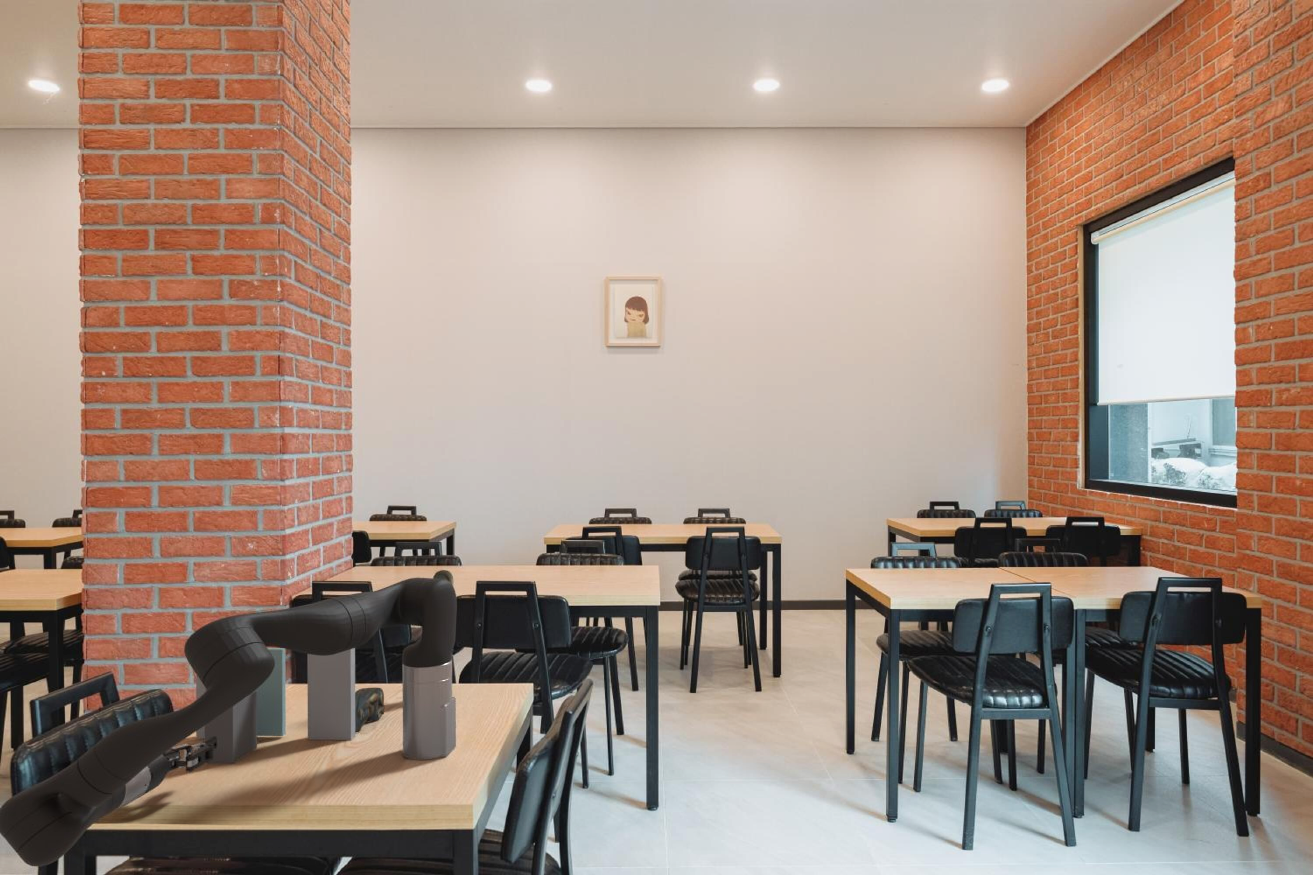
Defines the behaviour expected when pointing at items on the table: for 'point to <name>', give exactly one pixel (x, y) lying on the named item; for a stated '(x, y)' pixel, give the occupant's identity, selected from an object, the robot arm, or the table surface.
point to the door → (272, 699)
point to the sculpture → (368, 706)
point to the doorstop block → (234, 731)
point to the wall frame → (324, 697)
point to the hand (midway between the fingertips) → (191, 741)
